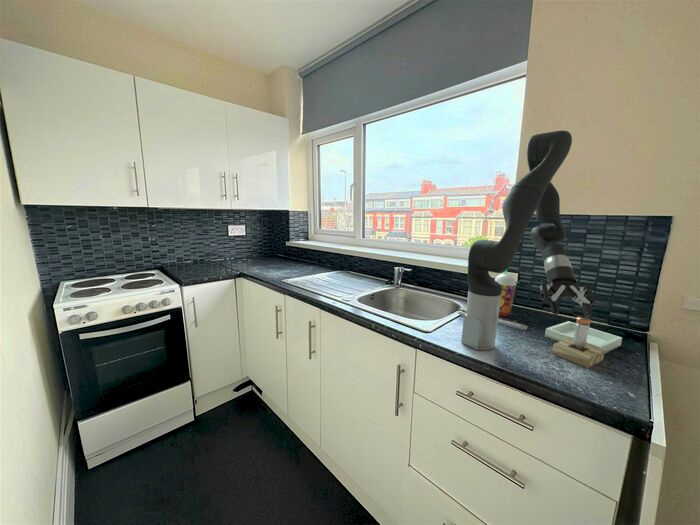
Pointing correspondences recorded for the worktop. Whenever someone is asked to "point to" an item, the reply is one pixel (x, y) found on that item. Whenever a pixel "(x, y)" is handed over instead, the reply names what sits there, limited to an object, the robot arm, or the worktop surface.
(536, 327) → the worktop surface
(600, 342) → the tray
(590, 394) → the worktop surface
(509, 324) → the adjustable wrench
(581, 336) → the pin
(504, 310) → the smoothie
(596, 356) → the block
